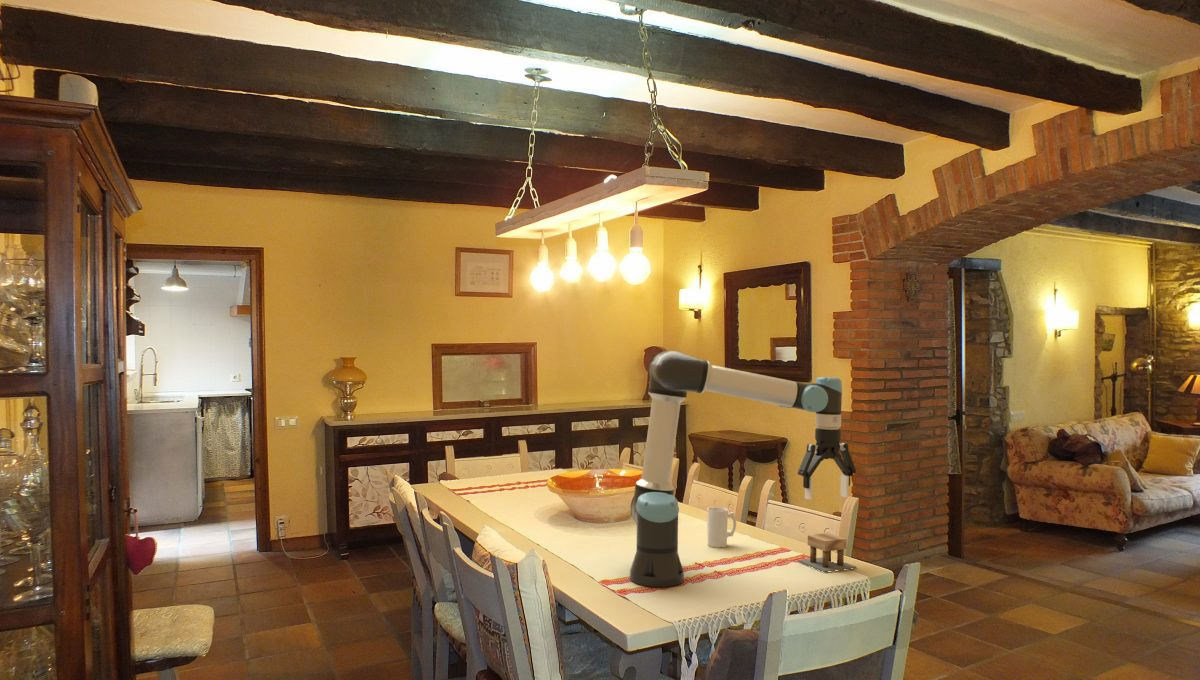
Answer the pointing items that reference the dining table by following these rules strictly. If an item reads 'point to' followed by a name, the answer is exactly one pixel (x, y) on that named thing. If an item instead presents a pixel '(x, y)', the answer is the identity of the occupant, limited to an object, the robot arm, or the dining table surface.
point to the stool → (827, 547)
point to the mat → (831, 567)
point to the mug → (719, 526)
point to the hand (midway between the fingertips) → (826, 498)
